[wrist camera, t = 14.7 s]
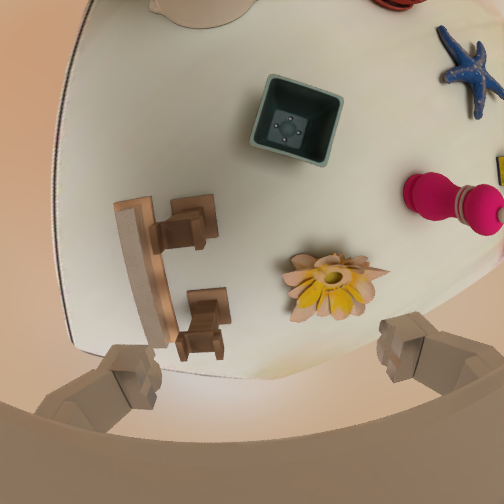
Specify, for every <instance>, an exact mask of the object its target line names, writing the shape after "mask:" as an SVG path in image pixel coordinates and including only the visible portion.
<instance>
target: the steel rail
mask: <svg viewBox="0 0 504 504" xmlns="http://www.w3.org/2000/svg"><path fill="white" fill-rule="evenodd" d="M115 216H116V222H117V227H118V232H119V237H120V242H121V247H122V251H123V256H124V260H125V264H126V268H127V272H128V276H129V280H130V284H131V288H132V292H133V295H134V299H135V303H136V306H137V309H138V313H139V316H140V319H141V323H142V326H143V329H144V332H145V335H146V338H147V341H148V344H149V345H150V346H152V347H153V348H167V347H168V344H169V342H170V339H171V336H170V332H169V329H168V325H167V321H166V318H165V314H164V310H163V306H162V303H161V299H160V295H159V290H158V286H157V282H156V278H155V273H154V269H153V264H152V260H151V255H150V250H149V245H148V240H147V234H146V229H145V223H144V218H143V212H142V205H141V206H135V207H129V208H124V209H121V210H118V211H116V212H115Z"/></svg>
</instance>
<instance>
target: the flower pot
mask: <svg viewBox="0 0 504 504" xmlns="http://www.w3.org/2000/svg"><path fill="white" fill-rule="evenodd" d="M343 103H344V99H343V97H341V96H339V95H337V94H334V93H331V92H328V91H325V90H322V89H319V88H316V87H313V86H310V85H308V84H305V83H301V82H298V81H295V80H292V79H289V78H286V77H282V76H279V75H275V74H270V75H269V76H268V79H267V82H266V86H265V89H264V92H263V96H262V99H261V103H260V106H259V110H258V113H257V116H256V120H255V123H254V126H253V129H252V132H251V135H250V139H249V144H250V145H251V146H253V147H256V148H261V149H264V150H268V151H272V152H275V153H279V154H282V155H286V156H289V157H292V158H295V159H298V160H301V161H304V162H307V163H310V164H313V165H316V166H319V167H325V166H326V165H327V162H328V159H329V155H330V151H331V147H332V144H333V140H334V136H335V132H336V129H337V125H338V122H339V118H340V114H341V111H342V107H343ZM289 117H292V118H293V119H292V120H289ZM275 124H278V127H277V128H276V127H275ZM297 131H300V132H301V134H297ZM283 138H286V141H283Z"/></svg>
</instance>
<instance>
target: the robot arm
mask: <svg viewBox="0 0 504 504" xmlns="http://www.w3.org/2000/svg"><path fill="white" fill-rule="evenodd" d="M255 1H257V0H150V3H149V9H150V11H152V12H154V13H158V14H163V15H165V16H167V17H168V18H169V19H170V20H171V21H173V22H174V23H176V24H178V25H181V26H184V27H189V28H210V27H216V26H220V25H223V24H226V23H229V22H231V21H233V20H235V19H237V18H239V17H240V16H242V15H243V14H244V13H245V12H246V11H247V10H248V9H249V8H250V7H251V6H252V4H253V3H254V2H255ZM379 331H380V333H381V334H382V335H381V336H380V338H379V339H378V340H377V355H378V358H379V361H380V362H381V364H382V365H385V366H387V371H386V372H387V374H388V375H389V377H390V379H391V380H392V382H393V383H396V382H400V381H403V380H407V379H410V378H413V377H414V379H415V380H417V381H418V382H420V383H422V384H424V385H425V386H427V387H429V388H431V389H432V390H434V391H436V392H437V393H439V394H441V395H443V396H441V397H439V398H437V399H434V400H432V401H429V402H427V403H424V404H422V405H419V406H416V407H414V408H411V409H408V410H405V411H402V412H399V413H396V414H393V415H390V416H387V417H383V418H380V419H377V420H373V421H369V422H366V423H362V424H358V425H354V426H350V427H345V428H341V429H336V430H331V431H326V432H321V433H316V434H310V435H304V436H297V437H291V438H282V439H273V440H262V441H248V442H228V443H227V442H225V443H196V442H194V443H193V442H173V441H159V440H150V439H141V438H133V437H126V436H120V435H114V434H107V433H106V432H107V431H109V430H110V429H111V428H112V427H113V426H114V425H115V424H116V423H117V422H118V421H120V420H121V419H122V418H123V417H124V416H125V415H126V414H127V413H129V412H130V411H131V409H146V410H152V409H153V407H154V404H155V401H156V398H157V396H156V394H155V392H156V391H157V390H158V389H160V386H161V383H162V373H161V369H160V366H159V364H158V363H157V362H156V361H155V360H154V357H155V352H154V349H153V347H152V346H150V345H125V344H115V345H112V346H111V348H110V349H109V351H108V352H107V354H106V356H105V357H104V359H103V360H102V362H101V363H100V365H99V366H98V368H97V369H96V370H95V369H93V370H91V371H89V372H87V373H86V374H84V375H82V376H80V377H78V378H77V379H75V380H73V381H71V382H70V383H68V384H66V385H64V386H62V387H60V388H59V389H57V390H55V391H53V392H51V393H50V394H48V395H46V397H45V398H44V400H43V401H42V403H41V404H40V406H39V407H38V409H37V410H36V411H35V413H34V414H31V413H29V412H26V411H23V410H21V409H18V408H16V407H13V406H11V405H8V404H6V403H3V402H1V401H0V504H504V357H503V356H502V355H501V354H500V353H499V352H498V351H497V350H496V349H495V348H494V347H493V346H490V345H486V344H483V343H480V342H477V341H473V340H470V339H467V338H463V337H460V336H457V335H454V334H450V333H447V332H444V331H441V332H439V331H438V330H437V329H436V328H435V327H434V326H433V325H432V324H431V323H429V321H428V320H426V319H425V318H424V317H423V316H422V315H421V314H420V313H419V312H416V311H415V312H412V313H408V314H405V315H402V316H398V317H394V318H389V319H385V320H381V322H380V326H379Z"/></svg>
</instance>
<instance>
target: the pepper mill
mask: <svg viewBox="0 0 504 504" xmlns="http://www.w3.org/2000/svg"><path fill="white" fill-rule="evenodd" d="M403 194H404V200H405V203H406V205H407V206H408V207H409V209H411V210H412V211H414V212H417V213H419V214H420V215H421V216H422V217H424V218H425V219H428V220H432V221H440V220H444V219H446V218H449V217H454V218H458V220H459V221H460V222H461V223H462V224H465V225H468V226H470V227H471V228H472V230H474V231H475V232H476V233H478V234H480V235H484V236H489V235H493V234H495V233H496V232H498V231H499V230H500V228H501V227H502V225H503V224H504V199H503V196H502V195H501V193H500V192H499V191H498V190H497V189H496V188H494V187H493V186H490V185H487V184H481V185H478V186H476V187H475V186H470V185H466V186H463V187H462V188H461V187H458V186H456V185H454V184H453V183H452V182H451V181H450V180H449V179H448V178H447V177H445V176H443V175H441V174H439V173H434V172H429V173H426V174H415V175H412V176H411V177H410V178H409V179H408V180H407V181H406V184H405V186H404V193H403Z"/></svg>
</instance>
